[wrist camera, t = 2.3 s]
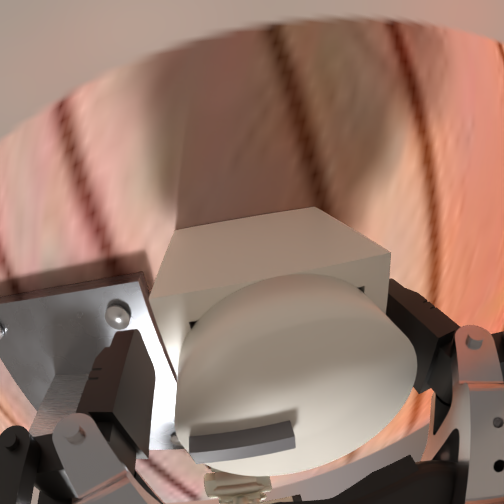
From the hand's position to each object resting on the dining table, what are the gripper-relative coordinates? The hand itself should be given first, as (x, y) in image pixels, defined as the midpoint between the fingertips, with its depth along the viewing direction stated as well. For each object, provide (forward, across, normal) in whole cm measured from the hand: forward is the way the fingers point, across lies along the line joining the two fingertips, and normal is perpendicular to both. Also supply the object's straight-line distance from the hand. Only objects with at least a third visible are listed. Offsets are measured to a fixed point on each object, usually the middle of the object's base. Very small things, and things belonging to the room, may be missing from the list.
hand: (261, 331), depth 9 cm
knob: (+4, 0, 0) cm, 4 cm away
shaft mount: (+4, +10, +6) cm, 13 cm away
